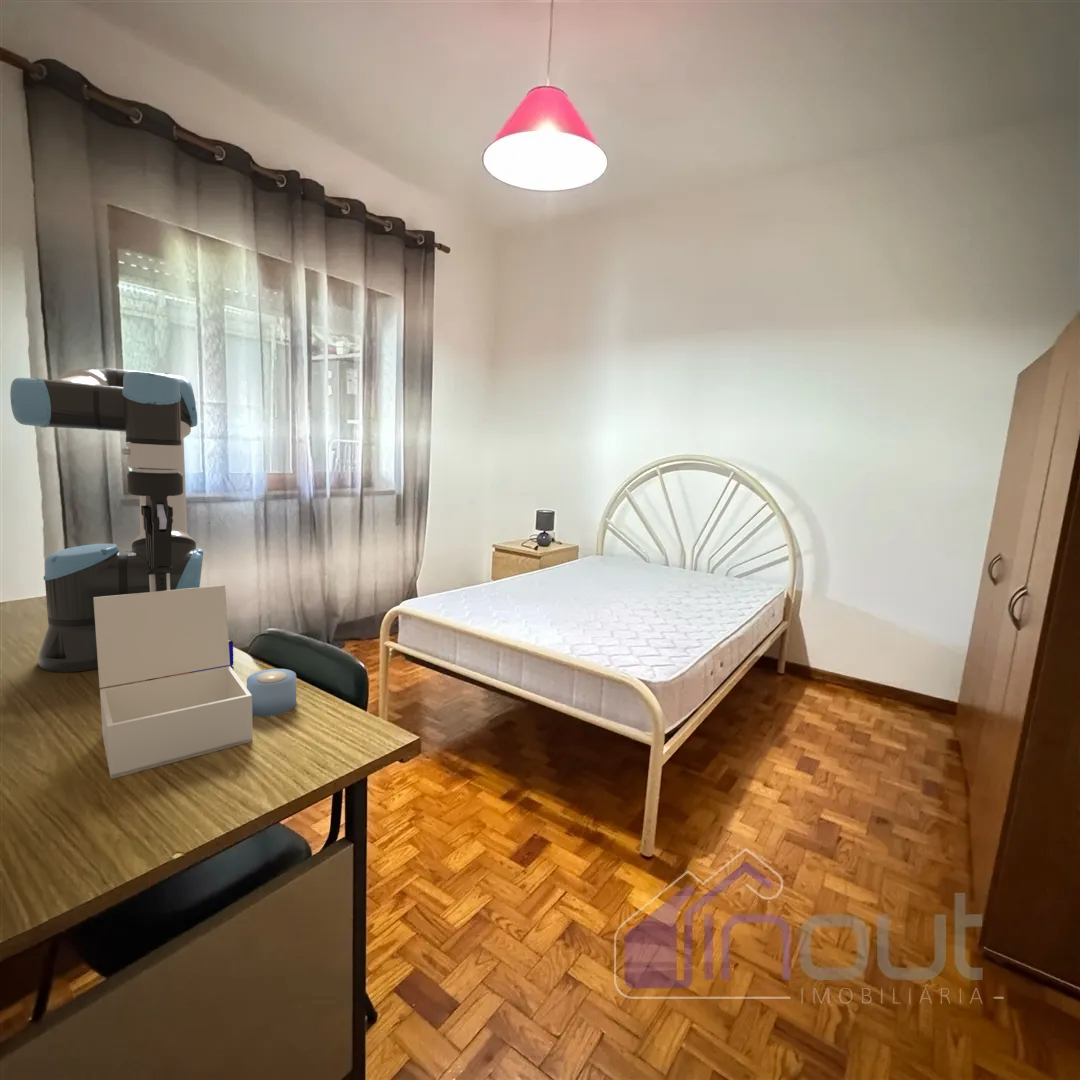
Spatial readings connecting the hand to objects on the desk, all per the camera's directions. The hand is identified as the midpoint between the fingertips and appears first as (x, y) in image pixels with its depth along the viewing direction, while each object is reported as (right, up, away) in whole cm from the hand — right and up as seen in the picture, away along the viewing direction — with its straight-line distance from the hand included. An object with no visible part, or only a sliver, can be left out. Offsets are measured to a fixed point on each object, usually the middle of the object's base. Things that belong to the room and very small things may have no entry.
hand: (160, 609), depth 95 cm
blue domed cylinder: (+16, -18, +6) cm, 25 cm away
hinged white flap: (+3, -3, -3) cm, 6 cm away
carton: (+7, -19, -7) cm, 22 cm away
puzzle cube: (+1, -17, +7) cm, 19 cm away
